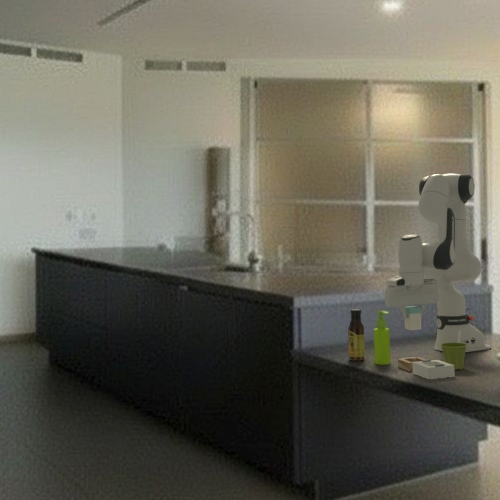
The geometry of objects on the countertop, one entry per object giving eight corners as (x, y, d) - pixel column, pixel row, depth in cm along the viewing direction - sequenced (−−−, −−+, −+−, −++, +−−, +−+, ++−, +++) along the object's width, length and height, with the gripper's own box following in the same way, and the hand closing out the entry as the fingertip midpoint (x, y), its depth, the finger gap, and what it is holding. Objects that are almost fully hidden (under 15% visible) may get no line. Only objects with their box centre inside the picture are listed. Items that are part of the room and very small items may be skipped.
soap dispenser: (382, 365, 281) (381, 312, 280) (371, 363, 287) (369, 310, 286) (395, 363, 284) (393, 310, 283) (384, 361, 290) (382, 309, 289)
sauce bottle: (347, 359, 297) (345, 308, 297) (362, 358, 298) (361, 307, 297) (350, 362, 291) (349, 310, 290) (366, 361, 291) (365, 309, 291)
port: (438, 371, 268) (437, 358, 267) (454, 376, 257) (454, 363, 257) (412, 373, 265) (412, 360, 265) (428, 379, 254) (427, 366, 254)
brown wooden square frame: (418, 364, 280) (418, 356, 280) (431, 369, 271) (431, 361, 271) (397, 366, 278) (397, 358, 278) (409, 371, 269) (409, 363, 269)
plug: (414, 327, 277) (414, 306, 277) (421, 329, 272) (420, 307, 272) (404, 328, 276) (404, 306, 276) (411, 330, 271) (410, 308, 271)
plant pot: (463, 372, 265) (463, 347, 264) (437, 370, 270) (436, 345, 269) (471, 367, 273) (470, 343, 272) (445, 365, 278) (444, 341, 277)
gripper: (432, 277, 279) (434, 314, 280) (382, 280, 274) (383, 318, 274) (441, 278, 273) (442, 316, 274) (389, 282, 268) (391, 320, 268)
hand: (412, 317), depth 274 cm, fingers closed on plug, 4 cm apart
